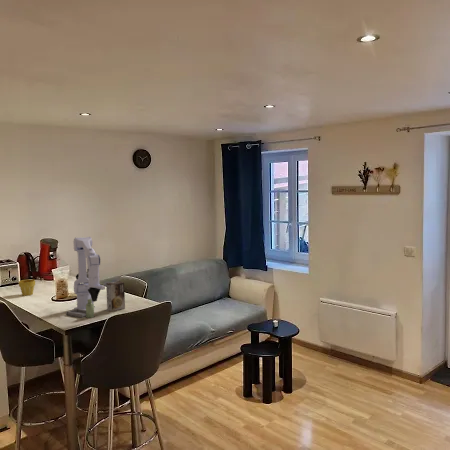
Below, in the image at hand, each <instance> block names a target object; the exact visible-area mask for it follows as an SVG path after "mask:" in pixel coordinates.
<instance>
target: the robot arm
mask: <svg viewBox="0 0 450 450" xmlns="http://www.w3.org/2000/svg"><path fill="white" fill-rule="evenodd" d="M73 249H74V252H76V253H77V267H78V268H77V269H78V273H77V274H79V278H78V279H76V280H75V281H74V283H73V293H74V294H75V295H76V305H77V306H76V307H74V308H73V310H74V309H83V310H86V304H87V303H88V299H92V303H93V304H94V308H95V302H97V301H98V297H99V294H100V292H101V291H104V290H106V286H105V285H103V284H100V266H101V257H100V254H98V253H97V252H96V251H95V249H94V248H93V238H92V237H91V236H86V237H83V236H82V237H74V238H73ZM87 269H88V271H87ZM86 272H88V275H89V279H88V278H87V273H86ZM87 282H88V283H87ZM79 283H80V284H79Z"/></svg>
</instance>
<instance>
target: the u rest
mask: <svg viewBox="0 0 450 450" xmlns="http://www.w3.org/2000/svg"><path fill="white" fill-rule="evenodd" d="M66 316H69V317H75V318H79V319H82V318H86V310H83V309H74V308H73V309H72V310H68V311H66Z"/></svg>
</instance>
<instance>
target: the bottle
mask: <svg viewBox="0 0 450 450" xmlns="http://www.w3.org/2000/svg"><path fill="white" fill-rule="evenodd" d="M94 306H95V303H94V304H93V303H92V299H88V303H87V304H86V317H85V318H87V319H92V318H94V317H95V307H94Z"/></svg>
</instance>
